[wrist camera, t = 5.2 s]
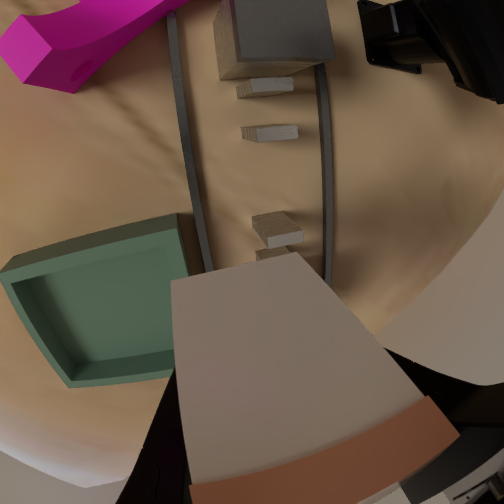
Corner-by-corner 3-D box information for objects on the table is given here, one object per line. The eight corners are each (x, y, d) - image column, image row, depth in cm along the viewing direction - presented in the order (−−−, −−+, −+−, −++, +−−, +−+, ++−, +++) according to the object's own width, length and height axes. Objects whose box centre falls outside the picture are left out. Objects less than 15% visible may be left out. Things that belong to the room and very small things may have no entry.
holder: (312, 9, 14) (365, -22, 8) (326, 304, 27) (362, 351, 21) (166, 12, 13) (163, -36, 6) (220, 332, 25) (236, 392, 19)
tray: (176, 213, 19) (176, 227, 17) (210, 344, 25) (215, 367, 23) (13, 256, 17) (-3, 274, 14) (73, 366, 23) (68, 388, 20)
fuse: (297, 250, 10) (460, 435, 3) (299, 341, 12) (391, 493, 5) (168, 279, 9) (202, 545, 2) (199, 368, 11) (245, 547, 4)
